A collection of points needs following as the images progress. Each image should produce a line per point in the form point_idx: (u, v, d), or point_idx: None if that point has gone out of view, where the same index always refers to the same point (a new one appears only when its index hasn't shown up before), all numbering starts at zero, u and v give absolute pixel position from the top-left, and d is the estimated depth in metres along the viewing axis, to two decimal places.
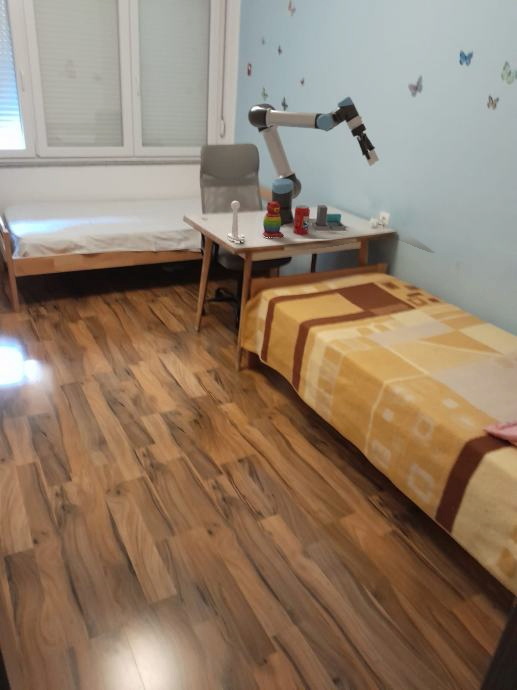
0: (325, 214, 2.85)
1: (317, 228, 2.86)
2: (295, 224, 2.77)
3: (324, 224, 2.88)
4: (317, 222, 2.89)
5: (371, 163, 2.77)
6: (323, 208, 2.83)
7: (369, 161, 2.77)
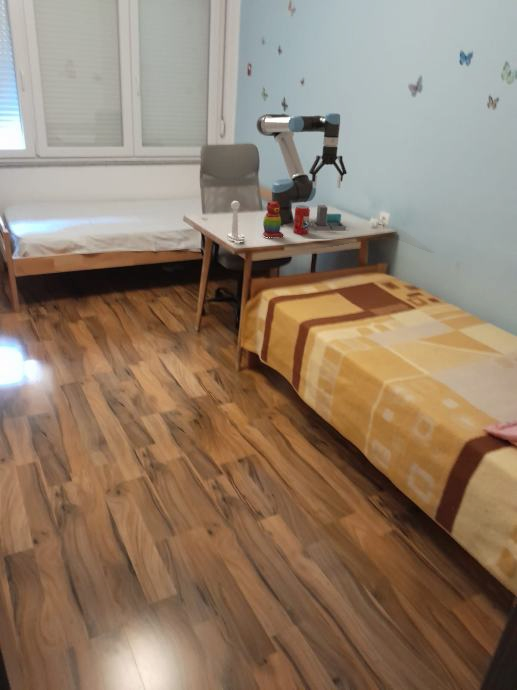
0: (325, 214, 2.85)
1: (317, 228, 2.86)
2: (295, 224, 2.77)
3: (324, 224, 2.88)
4: (317, 222, 2.89)
5: (313, 186, 2.79)
6: (323, 208, 2.83)
7: (313, 183, 2.79)
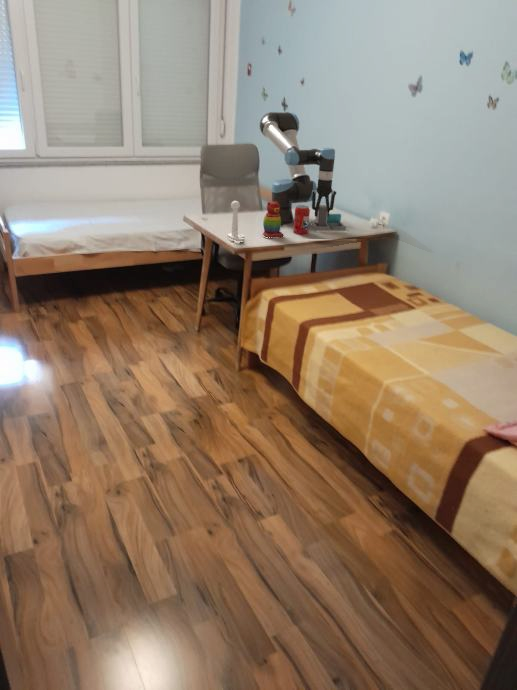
0: (325, 214, 2.85)
1: (317, 228, 2.86)
2: (295, 224, 2.77)
3: (324, 224, 2.88)
4: None
5: (316, 220, 2.89)
6: (323, 208, 2.83)
7: (316, 218, 2.89)
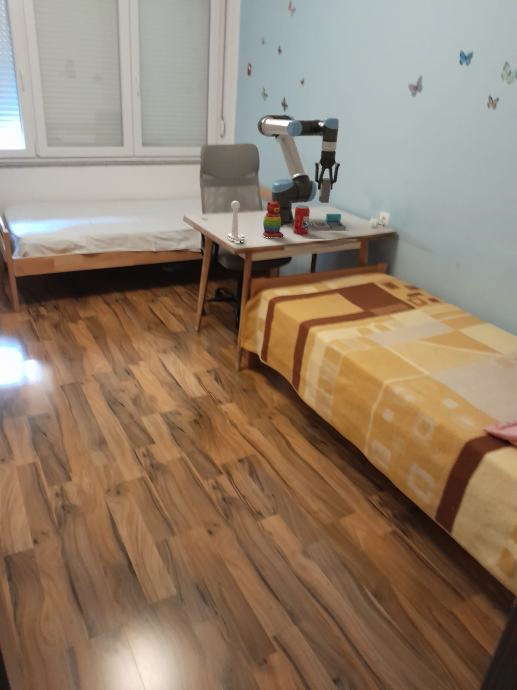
0: (328, 187, 2.78)
1: (317, 228, 2.86)
2: (295, 224, 2.77)
3: (327, 197, 2.81)
4: None
5: (319, 194, 2.82)
6: (326, 180, 2.77)
7: (319, 191, 2.82)
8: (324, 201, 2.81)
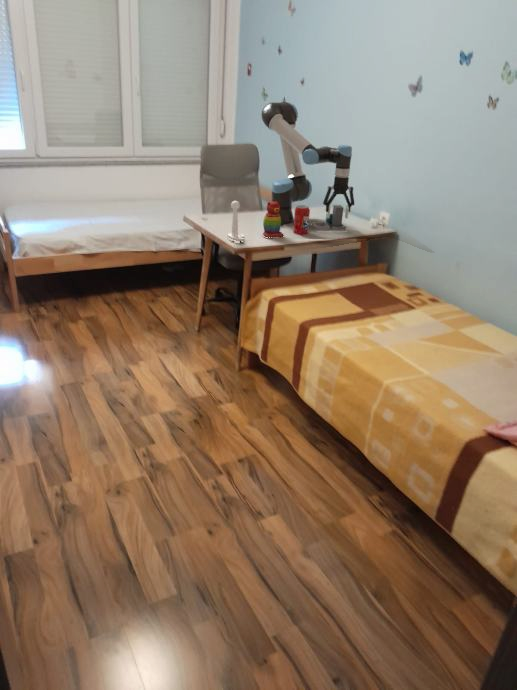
0: (341, 214, 2.86)
1: (317, 228, 2.86)
2: (295, 224, 2.77)
3: (340, 224, 2.89)
4: (333, 222, 2.91)
5: (327, 216, 2.89)
6: (339, 208, 2.85)
7: (327, 213, 2.88)
8: None
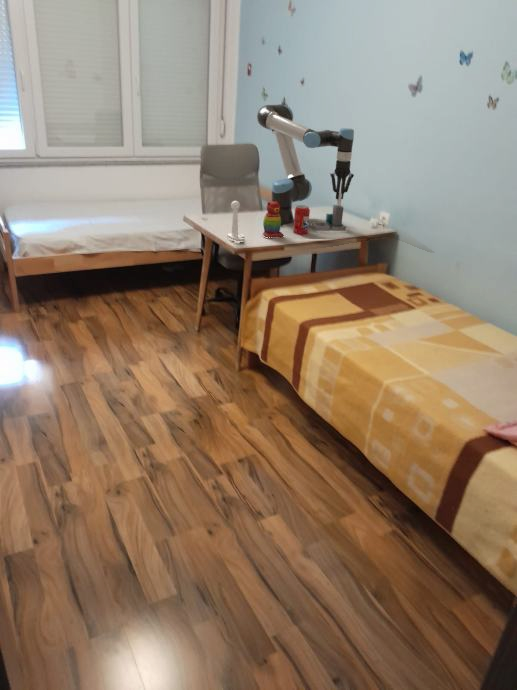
0: (341, 214, 2.86)
1: (317, 228, 2.86)
2: (295, 224, 2.77)
3: (340, 224, 2.89)
4: (333, 222, 2.91)
5: (337, 203, 2.86)
6: (339, 208, 2.85)
7: (337, 200, 2.86)
8: None
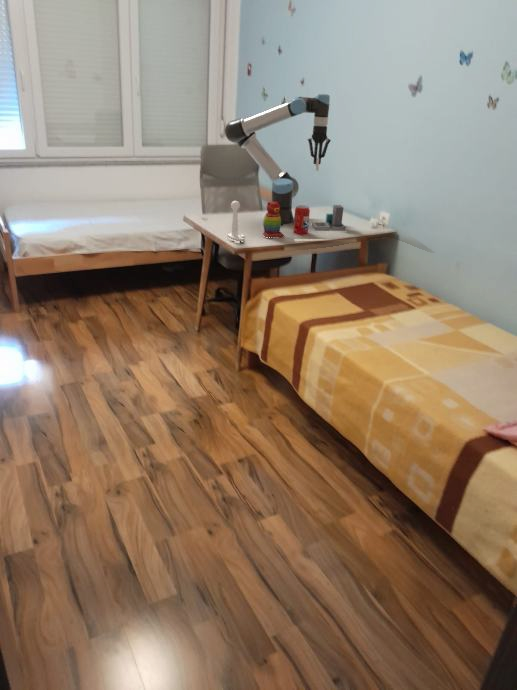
0: (341, 214, 2.86)
1: (317, 228, 2.86)
2: (295, 224, 2.77)
3: (340, 224, 2.89)
4: (333, 222, 2.91)
5: (315, 168, 2.97)
6: (339, 208, 2.85)
7: (315, 165, 2.96)
8: None
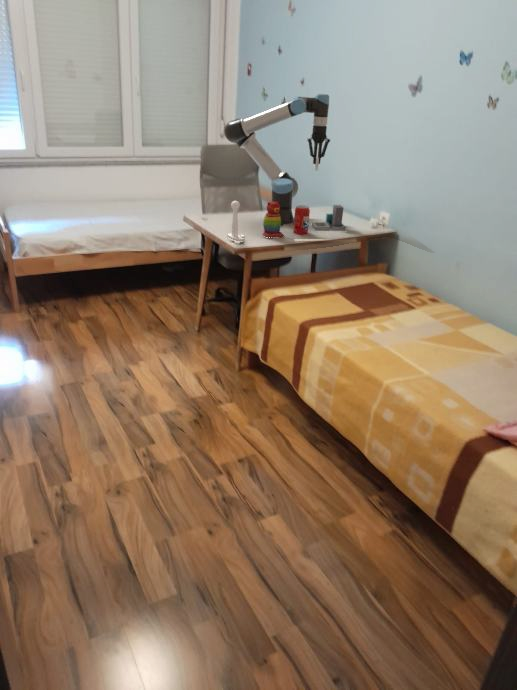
0: (341, 214, 2.86)
1: (317, 228, 2.86)
2: (295, 224, 2.77)
3: (340, 224, 2.89)
4: (333, 222, 2.91)
5: (314, 168, 2.97)
6: (339, 208, 2.85)
7: (314, 165, 2.97)
8: None
